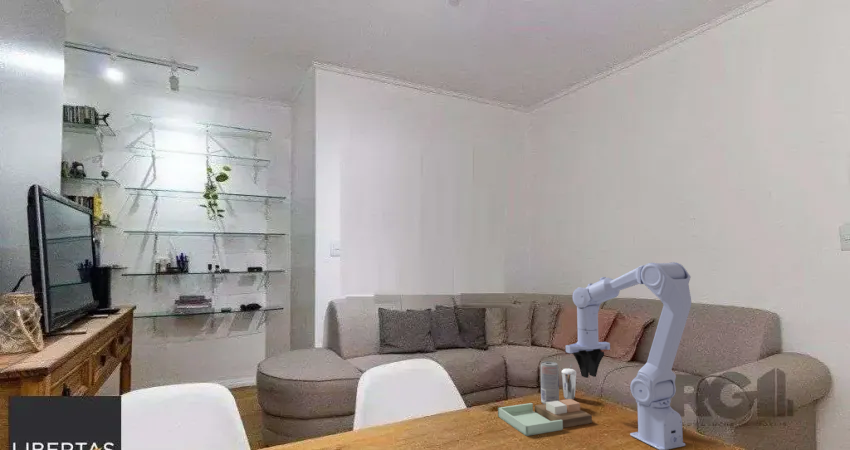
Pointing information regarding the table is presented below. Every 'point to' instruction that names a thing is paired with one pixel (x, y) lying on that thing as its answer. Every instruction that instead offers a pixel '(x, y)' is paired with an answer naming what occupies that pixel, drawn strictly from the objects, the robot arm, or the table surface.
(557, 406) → the tile
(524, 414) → the tray
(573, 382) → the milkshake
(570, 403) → the tile
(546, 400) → the energy drink
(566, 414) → the board
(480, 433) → the table surface
